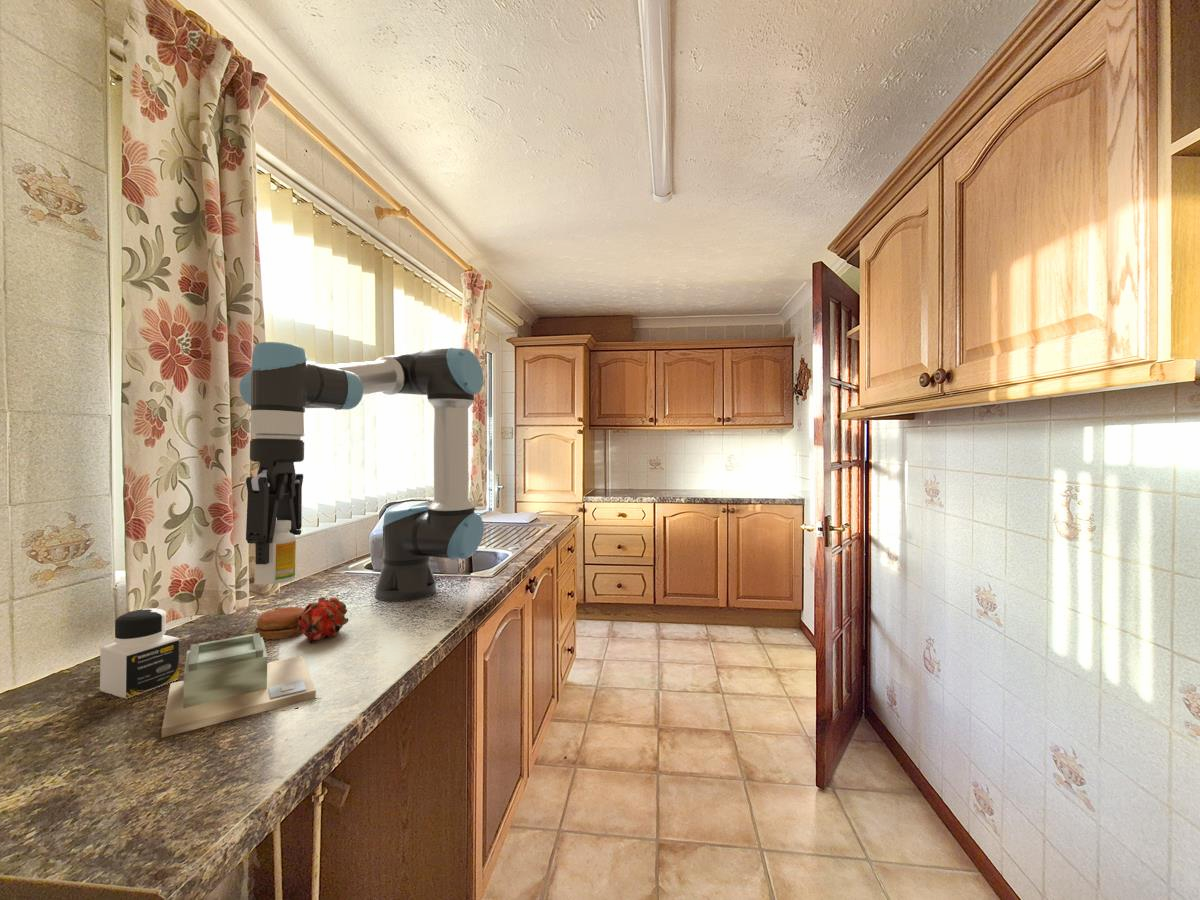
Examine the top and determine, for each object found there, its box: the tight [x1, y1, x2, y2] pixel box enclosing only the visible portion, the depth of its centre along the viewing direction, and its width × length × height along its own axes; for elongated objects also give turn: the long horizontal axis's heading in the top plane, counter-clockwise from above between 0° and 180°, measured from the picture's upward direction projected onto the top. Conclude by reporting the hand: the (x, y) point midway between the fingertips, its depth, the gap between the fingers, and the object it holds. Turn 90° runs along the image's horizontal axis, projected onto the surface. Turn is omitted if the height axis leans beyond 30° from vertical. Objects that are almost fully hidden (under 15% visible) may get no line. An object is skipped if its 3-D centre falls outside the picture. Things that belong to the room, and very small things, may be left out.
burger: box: [254, 606, 305, 640], centre depth 104 cm, size 10×9×5 cm
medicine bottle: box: [99, 607, 180, 700], centre depth 80 cm, size 7×7×12 cm
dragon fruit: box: [298, 596, 349, 644], centre depth 101 cm, size 8×8×12 cm
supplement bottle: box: [272, 519, 297, 585], centre depth 81 cm, size 5×5×10 cm
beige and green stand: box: [161, 632, 317, 739], centre depth 78 cm, size 18×16×7 cm
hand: (274, 578), depth 81 cm, fingers closed on supplement bottle, 5 cm apart
